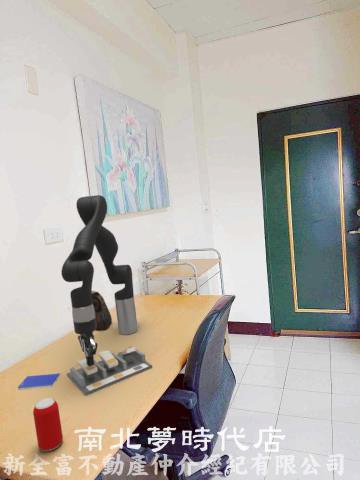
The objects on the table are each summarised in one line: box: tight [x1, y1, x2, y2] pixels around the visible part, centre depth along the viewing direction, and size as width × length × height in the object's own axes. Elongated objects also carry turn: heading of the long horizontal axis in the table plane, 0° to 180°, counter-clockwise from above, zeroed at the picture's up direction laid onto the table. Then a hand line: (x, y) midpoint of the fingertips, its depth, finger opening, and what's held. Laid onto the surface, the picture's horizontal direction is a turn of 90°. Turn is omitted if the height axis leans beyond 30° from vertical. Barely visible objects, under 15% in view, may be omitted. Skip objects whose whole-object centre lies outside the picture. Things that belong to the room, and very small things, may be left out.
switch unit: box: [66, 346, 153, 396], centre depth 129 cm, size 19×26×4 cm
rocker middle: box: [98, 349, 118, 368], centre depth 129 cm, size 9×4×2 cm, turn 36°
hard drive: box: [17, 373, 61, 391], centre depth 127 cm, size 2×8×12 cm
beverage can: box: [32, 397, 64, 452], centre depth 91 cm, size 6×6×12 cm
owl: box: [92, 290, 113, 332], centre depth 180 cm, size 13×13×20 cm
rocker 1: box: [77, 358, 97, 375], centre depth 124 cm, size 9×4×2 cm, turn 36°
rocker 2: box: [117, 346, 136, 356], centre depth 134 cm, size 9×4×2 cm, turn 36°
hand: (90, 365), depth 121 cm, fingers closed
